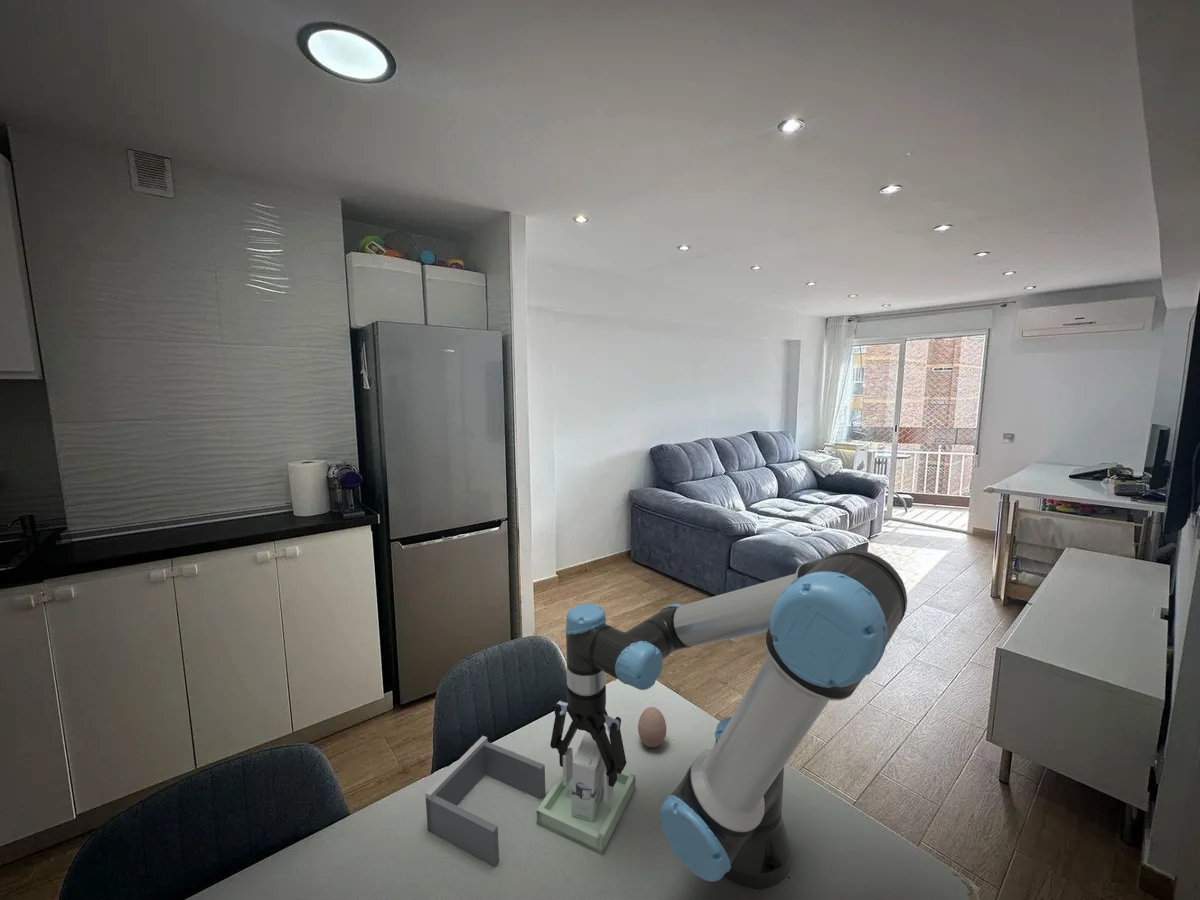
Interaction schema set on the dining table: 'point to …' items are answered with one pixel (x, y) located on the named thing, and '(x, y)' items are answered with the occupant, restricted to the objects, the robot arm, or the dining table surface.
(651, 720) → the egg
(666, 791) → the dining table surface
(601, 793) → the ink box
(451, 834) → the dock
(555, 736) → the robot arm
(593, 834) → the tray
